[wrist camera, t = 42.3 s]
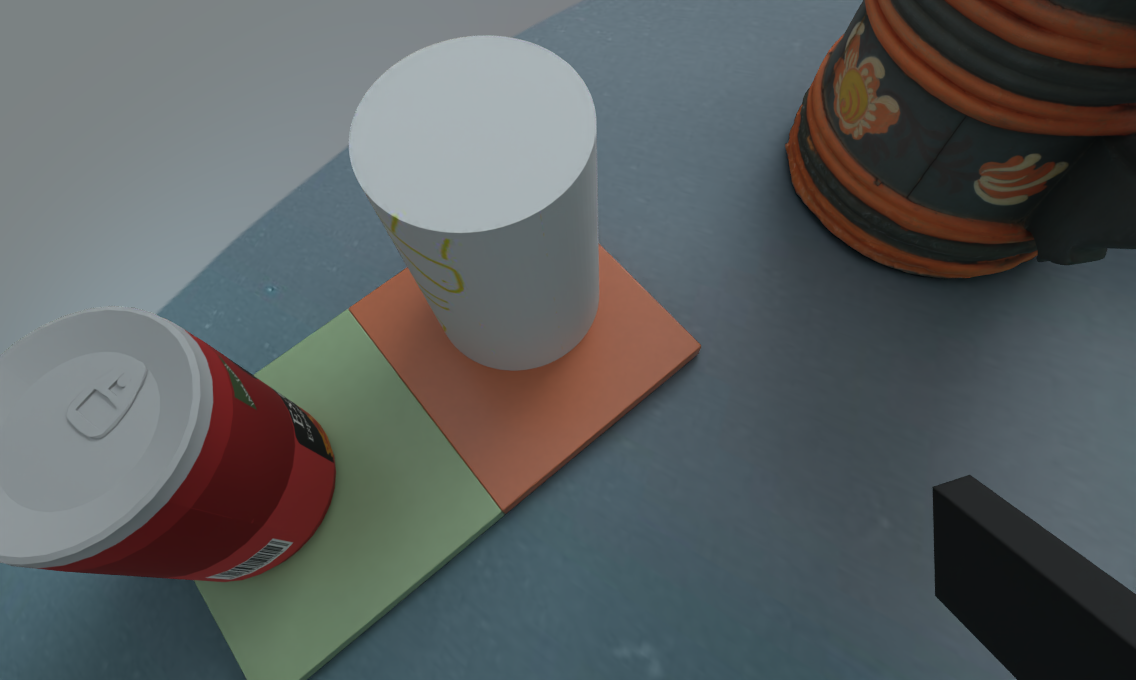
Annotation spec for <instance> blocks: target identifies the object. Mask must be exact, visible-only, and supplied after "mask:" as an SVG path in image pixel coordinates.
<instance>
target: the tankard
mask: <svg viewBox="0 0 1136 680" xmlns="http://www.w3.org/2000/svg"><path fill="white" fill-rule="evenodd" d="M789 136H790V137H789V142H788V143H786V145H785V147H786V151H787V154H788V159H789V167H790V172H791V177H792V183H793V186H794V188H795V191H796V193H797V194H798V196H799V197H800V198H801V199H802V201H803V203H804V204H806V205H807V206H808V207H809V209H810V210H811V211H812V212H813V213H814V214H815V215H816V216H817V217H818V218H819V219H820V221H821V222H822V223H823V225H824V226H825V227H826V228H827V229H828V230H829V231H830V232H831V233H832V234H834V235H835V236H836V237H838V238H840V239H841V240H842V241H844V242H845V243H846V244H847V245H849V246H850V247H852V248H853V249H855V250H857V251H858V252H860V253H861V254H862V255H864V256H866V257H868V258H870V259H872V260H874V261H876V262H878V263H880V264H883V265H885V266H888V267H891V268H894V269H899V270H901V271H903V272H906V273H910V274H916V275H921V276H926V277H934V278H944V279H948V278H971V277H976V276H981V275H988V274H994V273H999V272H1003V271H1006V270H1009V269H1012V268H1014V267H1016V266H1017V265H1018V264H1020V263H1022V262H1026V261H1029V260H1031V259H1032V258H1034V257H1035V256H1037V255H1038V256H1037V262H1043V261H1051V262H1053V263H1056V264H1060V265H1073V264H1079V263H1085V262H1092V261H1097V260H1100V259H1103V258H1104V257H1105V255H1106V251H1107V248H1116V249H1136V0H863V2H862V4H861V5H860V7H859V9H858V10H857V12H856V14H855V16H854V18H853V19H852V21H851V23H850V25H849V26H848V28H847V30H846V32H845V34H844V35H843V36H841V37H840V38H839V40H838V41H837V42H836V43H835V44H834V45H833V46H832V48H831V49H830V50H829V52H828V53H827V55H826V56H825V58H824V60H823V62H822V64H821V65H820V67H819V70H818V72H817V74H816V76H815V78H814V81H813V83H812V85H811V86H810V88H809V89H808V91H807V92H806V93H805V96H804V98H803V103H802V105H801V106H800V108H799V111H798V112H797V114H796V118H795V121H794V125H793V126H792V129H791V130H790V134H789Z"/></svg>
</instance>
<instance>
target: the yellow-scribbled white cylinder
mask: <svg viewBox="0 0 1136 680" xmlns="http://www.w3.org/2000/svg"><path fill="white" fill-rule="evenodd" d="M349 154H350V160H351V164H352V168H353V171H354V173H355V176H356V178H357V180H358V182H359V183H360V185H361V187H362V189H363V190H364V192H365V194H366V196H367V197H368V199H369V201H370V203H371V204H372V206H373V208H374V210H375V211H376V213H377V215H378V217H379V218H380V220H381V222H382V224H383V225H384V227H385V229H386V230H387V232H388V234H389V236H390V237H391V239H392V241H393V243H394V244H395V246H396V248H397V250H398V251H399V253H400V255H401V257H402V258H403V260H404V262H405V264H406V265H407V267H408V269H409V271H410V272H411V274H412V276H413V278H414V279H415V281H416V283H417V284H418V286H419V288H420V290H421V291H422V293H423V295H424V297H425V298H426V300H427V302H428V304H429V305H430V307H431V309H432V311H433V312H434V314H435V316H436V318H437V319H438V321H439V323H440V325H441V326H442V328H443V330H444V332H445V333H446V335H447V337H448V338H449V340H450V341H451V342H452V343H453V345H454V346H455V347H456V348H457V349H458V350H459V351H460V352H462V353H463V354H464V355H465V356H467V357H468V358H470V359H472V360H473V361H475V362H477V363H479V364H482V365H484V366H487V367H491V368H495V369H500V370H511V371H517V370H527V369H533V368H537V367H541V366H544V365H546V364H549V363H551V362H553V361H555V360H557V359H559V358H561V357H562V356H564V355H565V354H567V353H568V352H569V351H571V350H572V349H573V348H574V347H575V346H576V345H577V344H578V343H579V342H580V341H581V340H582V339H583V338H584V336H585V335H586V334H587V332H588V330H589V329H590V327H591V325H592V323H593V321H594V319H595V316H596V313H597V309H598V304H599V247H598V190H597V132H596V112H595V107H594V103H593V100H592V97H591V94H590V92H589V90H588V88H587V86H586V85H585V83H584V81H583V80H582V78H581V77H580V76H579V74H578V73H577V72H576V71H575V70H574V69H573V68H572V67H571V66H570V65H569V64H568V63H567V62H565V61H564V60H563V59H562V58H560V57H559V56H557V55H556V54H554V53H552V52H551V51H549V50H547V49H545V48H543V47H541V46H538V45H536V44H533V43H530V42H527V41H524V40H520V39H515V38H510V37H503V36H486V35H484V36H483V35H482V36H469V37H461V38H455V39H451V40H446V41H443V42H440V43H436V44H433V45H430V46H428V47H425V48H423V49H421V50H419V51H417V52H414V53H412V54H411V55H409V56H407V57H405V58H404V59H402V60H401V61H399V62H398V63H396V64H395V65H393V66H392V67H391V68H390V69H388V70H387V71H386V72H385V73H384V74H383V75H382V76H380V77H379V78H378V79H377V81H376V82H375V83H374V84H373V85H372V86H371V88H370V89H369V90H368V91H367V93H366V94H365V96H364V97H363V99H362V100H361V102H360V104H359V106H358V108H357V110H356V112H355V115H354V118H353V121H352V125H351V129H350V135H349Z"/></svg>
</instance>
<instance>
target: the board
mask: <svg viewBox="0 0 1136 680" xmlns="http://www.w3.org/2000/svg"><path fill="white" fill-rule="evenodd" d="M598 247H599V304H598V309H597V313H596V316H595V319H594V321H593V323H592V325H591V327H590V329H589V330H588V332H587V334H586V335H585V336H584V338H583V339H582V340H581V341H580V342H579V343H578V344H577V345H576V346H575V347H574V348H573V349H572V350H571V351H569V352H568V353H567V354H565V355H564V356H562V357H561V358H559V359H557V360H555V361H553V362H551V363H549V364H546V365H544V366H541V367H537V368H533V369H527V370H517V371H511V370H500V369H495V368H491V367H487V366H484V365H482V364H479V363H477V362H475V361H473V360H472V359H470V358H468V357H467V356H465V355H464V354H463V353H462V352H460V351H459V350H458V349H457V348H456V347H455V346H454V345H453V343H452V342H451V341H450V340H449V338H448V337H447V335H446V333H445V332H444V330H443V328H442V326H441V325H440V323H439V321H438V319H437V318H436V316H435V314H434V312H433V311H432V309H431V307H430V305H429V304H428V302H427V300H426V298H425V297H424V295H423V293H422V291H421V290H420V288H419V286H418V284H417V283H416V281H415V279H414V278H413V276H412V274H411V272H410V271H409V269H408V267H407V268H406V269H404V270H403V271H401V272H400V273H398V274H397V275H396V276H394V277H393V278H391V279H390V280H388V281H387V282H386V283H384V284H383V285H381V286H380V287H378V288H377V289H376V290H374V291H373V292H371V293H370V294H368V295H367V296H366V297H364V298H363V299H361V300H360V301H358V302H357V303H356V304H354V305H353V306H351V307H350V308H349V310H348V309H347V310H345V311H344V312H343V313H341V314H340V315H338V316H337V317H335V318H334V319H333V320H331V321H330V322H328V323H327V324H325V325H324V326H323V327H321V328H320V329H318V330H317V331H315V332H314V333H313V334H311V335H310V336H308V337H307V338H305V339H304V340H303V341H301V342H300V343H298V344H297V345H295V346H294V347H293V348H291V349H290V350H288V351H287V352H285V353H284V354H283V355H281V356H280V357H278V358H277V359H275V360H274V361H273V362H271V363H270V364H268V365H267V366H265V367H264V368H263V369H261V370H260V371H258V372H257V373H255V374H254V375H253V376H255V377H256V378H258V379H259V380H261V381H262V382H264V383H265V384H267V385H268V386H270V387H271V388H273V389H274V390H275V391H277V392H278V393H280V394H281V395H283V396H284V397H286V398H287V399H289V400H290V401H292V402H293V403H295V404H296V405H297V406H299V407H300V408H302V409H303V410H305V411H306V412H308V413H309V414H310V415H311V416H312V417H313V418H314V419H315V420H316V421H317V422H318V423H319V424H320V425H321V427H322V428H323V430H324V431H325V433H326V435H327V436H328V439H329V442H330V445H331V448H332V451H333V454H334V458H335V467H336V479H335V489H334V493H333V497H332V500H331V504H330V506H329V509H328V511H327V513H326V515H325V517H324V519H323V521H322V523H321V524H320V526H319V527H318V529H317V530H316V532H315V533H314V535H313V536H312V537H311V538H310V539H309V540H308V541H307V543H306V544H305V545H304V546H303V547H302V548H301V549H300V550H299V551H297V552H296V553H295V554H294V555H292V556H291V557H290V558H288V559H287V560H286V561H284V562H282V563H281V564H279V565H277V566H275V567H273V568H271V569H269V570H268V571H266V572H264V573H262V574H259V575H256V576H253V577H250V578H247V579H244V580H238V581H230V582H215V581H200V580H194V582H195V583H196V585H197V587H198V589H199V591H200V593H201V595H202V597H203V598H204V600H205V602H206V604H207V606H208V608H209V610H210V612H211V613H212V615H213V617H214V619H215V621H216V623H217V625H218V627H219V629H220V630H221V632H222V634H223V636H224V638H225V640H226V642H227V644H228V645H229V647H230V649H231V651H232V653H233V655H234V657H235V659H236V660H237V662H238V664H239V666H240V668H241V670H242V672H243V674H244V675H245V677H246V679H247V680H307V679H308V678H309V677H310V676H312V675H313V674H314V673H315V672H316V671H318V670H319V669H320V668H321V667H322V666H324V665H325V664H326V663H327V662H328V661H330V660H331V659H332V658H333V657H334V656H336V655H337V654H338V653H339V652H340V651H342V650H343V649H344V648H345V647H346V646H348V645H349V644H350V643H351V642H352V641H354V640H355V639H356V638H357V637H359V636H360V635H361V634H362V633H363V632H365V631H366V630H367V629H368V628H369V627H371V626H372V625H373V624H374V623H375V622H377V621H378V620H379V619H380V618H381V617H383V616H384V615H385V614H386V613H387V612H389V611H390V610H391V609H392V608H393V607H395V606H396V605H397V604H398V603H399V602H401V601H402V600H403V599H404V598H405V597H407V596H408V595H409V594H410V593H411V592H413V591H414V590H415V589H416V588H417V587H419V586H420V585H421V584H422V583H423V582H425V581H426V580H427V579H428V578H429V577H431V576H432V575H433V574H434V573H435V572H437V571H438V570H439V569H440V568H441V567H443V566H444V565H445V564H446V563H447V562H449V561H450V560H451V559H452V558H453V557H455V556H456V555H457V554H458V553H460V552H461V551H462V550H463V549H464V548H466V547H467V546H468V545H469V544H470V543H472V542H473V541H474V540H475V539H476V538H478V537H479V536H480V535H481V534H482V533H484V532H485V531H486V530H487V529H488V528H490V527H491V526H492V525H493V524H494V523H496V522H497V521H498V520H499V519H500V518H502V517H503V516H504V515H505V514H506V513H508V512H509V511H510V510H511V509H512V508H514V507H515V506H516V505H517V504H518V503H520V502H521V501H522V500H523V499H524V498H526V497H527V496H528V495H529V494H530V493H532V492H533V491H534V490H535V489H536V488H538V487H539V486H540V485H541V484H542V483H544V482H545V481H546V480H547V479H548V478H550V477H551V476H552V475H553V474H554V473H556V472H557V471H558V470H559V469H560V468H562V467H563V466H564V465H565V464H566V463H568V462H569V461H570V460H571V459H572V458H574V457H575V456H576V455H577V454H578V453H580V452H581V451H582V450H583V449H585V448H586V447H587V446H588V445H589V444H591V443H592V442H593V441H594V440H595V439H597V438H598V437H599V436H600V435H601V434H603V433H604V432H605V431H606V430H607V429H609V428H610V427H611V426H612V425H613V424H615V423H616V422H617V421H618V420H619V419H621V418H622V417H623V416H624V415H625V414H627V413H628V412H629V411H630V410H631V409H633V408H634V407H635V406H636V405H637V404H639V403H640V402H641V401H642V400H643V399H645V398H646V397H647V396H648V395H649V394H651V393H652V392H653V391H654V390H655V389H657V388H658V387H659V386H660V385H661V384H663V383H664V382H665V381H666V380H667V379H669V378H670V377H671V376H672V375H673V374H675V373H676V372H677V371H678V370H680V369H681V368H682V367H683V366H684V365H686V364H687V363H688V362H689V361H690V360H692V359H693V358H694V357H695V356H696V355H698V354H699V351H700V348H701V345H700V344H699V343H698V342H697V341H696V340H695V339H694V338H693V337H692V336H691V335H690V334H689V333H688V332H687V331H686V330H685V329H684V328H683V327H682V326H681V325H680V324H679V323H678V322H677V321H676V320H675V319H674V318H673V317H672V316H671V315H670V314H669V313H668V312H667V311H666V310H665V309H664V308H663V307H662V306H661V305H660V304H659V303H658V302H657V301H656V300H655V299H654V298H653V297H652V296H651V295H650V294H649V293H648V292H647V291H646V290H645V289H644V288H643V287H642V286H641V285H640V284H639V283H638V282H637V281H636V280H635V279H634V278H633V277H632V276H631V275H630V274H629V273H628V272H627V271H626V270H625V269H624V268H623V267H622V266H621V265H620V264H619V263H618V262H617V261H616V260H615V259H614V258H613V257H612V256H611V255H610V254H609V253H608V252H607V251H606V250H605V249H604V248H603V247H602V246H601V245H600V244H599V243H598ZM504 513H505V514H504Z"/></svg>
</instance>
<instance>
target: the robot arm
mask: <svg viewBox="0 0 1136 680" xmlns="http://www.w3.org/2000/svg"><path fill="white" fill-rule="evenodd" d="M933 522H934V563H935V596H936V597H937V598H938V599H939V600H940V601H941V602H942V603H943V604H944V605H945V606H946V607H947V608H948V609H949V610H950V611H951V612H952V613H953V614H954V615H955V616H956V617H957V618H958V620H959V621H960V622H961V623H962V624H963V625H964V626H965V627H966V628H967V629H968V630H969V631H970V632H971V633H972V634H973V635H974V636H975V637H976V638H977V639H978V640H979V641H980V642H981V643H982V644H983V645H984V646H985V647H986V648H987V649H988V650H989V651H990V652H991V653H992V654H993V655H994V656H995V657H996V658H997V659H998V660H999V661H1000V662H1001V663H1002V664H1003V665H1004V666H1005V668H1006V669H1007V670H1008V671H1009V672H1010V673H1011V674H1012V675H1013V676H1014V677H1015V678H1016V679H1017V680H1136V594H1135V593H1133V592H1132V591H1130V590H1129V589H1128V588H1126V587H1125V586H1123V585H1122V584H1121V583H1119V582H1118V581H1117V580H1115V579H1114V578H1112V577H1111V576H1110V575H1108V574H1107V573H1105V572H1104V571H1103V570H1101V569H1100V568H1098V567H1097V566H1096V565H1094V564H1093V563H1092V562H1090V561H1089V560H1087V559H1086V558H1085V557H1083V556H1082V555H1080V554H1079V553H1078V552H1076V551H1075V550H1074V549H1072V548H1071V547H1069V546H1068V545H1067V544H1065V543H1064V542H1062V541H1061V540H1060V539H1058V538H1057V537H1055V536H1054V535H1053V534H1051V533H1050V532H1049V531H1047V530H1046V529H1044V528H1043V527H1042V526H1040V525H1039V524H1037V523H1036V522H1035V521H1033V520H1032V519H1030V518H1029V517H1028V516H1026V515H1025V514H1024V513H1022V512H1021V511H1019V510H1018V509H1017V508H1015V507H1014V506H1012V505H1011V504H1010V503H1008V502H1007V501H1005V500H1004V499H1003V498H1001V497H1000V496H999V495H997V494H996V493H994V492H993V491H992V490H990V489H989V488H987V487H986V486H985V485H983V484H982V483H980V482H979V481H978V480H976V479H975V478H974V477H972V476H971V475H968V476H965V477H962V478H959V479H955V480H952V481H949V482H946V483H943V484H940V485H937V486H934V487H933Z"/></svg>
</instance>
